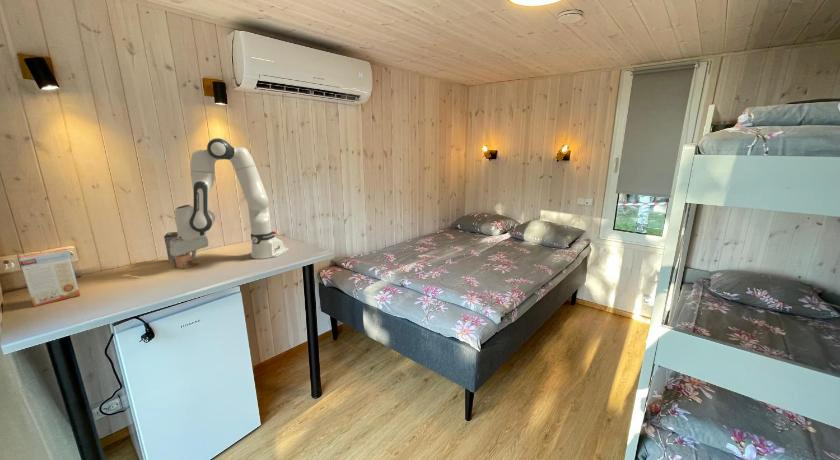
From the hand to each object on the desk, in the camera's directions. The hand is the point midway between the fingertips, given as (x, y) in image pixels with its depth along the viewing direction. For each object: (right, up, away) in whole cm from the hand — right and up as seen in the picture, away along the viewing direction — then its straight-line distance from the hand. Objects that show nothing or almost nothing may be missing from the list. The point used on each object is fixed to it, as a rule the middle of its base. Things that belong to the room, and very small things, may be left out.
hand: (192, 258), depth 189 cm
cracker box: (-29, -14, -43) cm, 54 cm away
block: (-1, -4, -4) cm, 6 cm away
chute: (-2, -5, -5) cm, 7 cm away
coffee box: (-13, -2, +7) cm, 15 cm away
